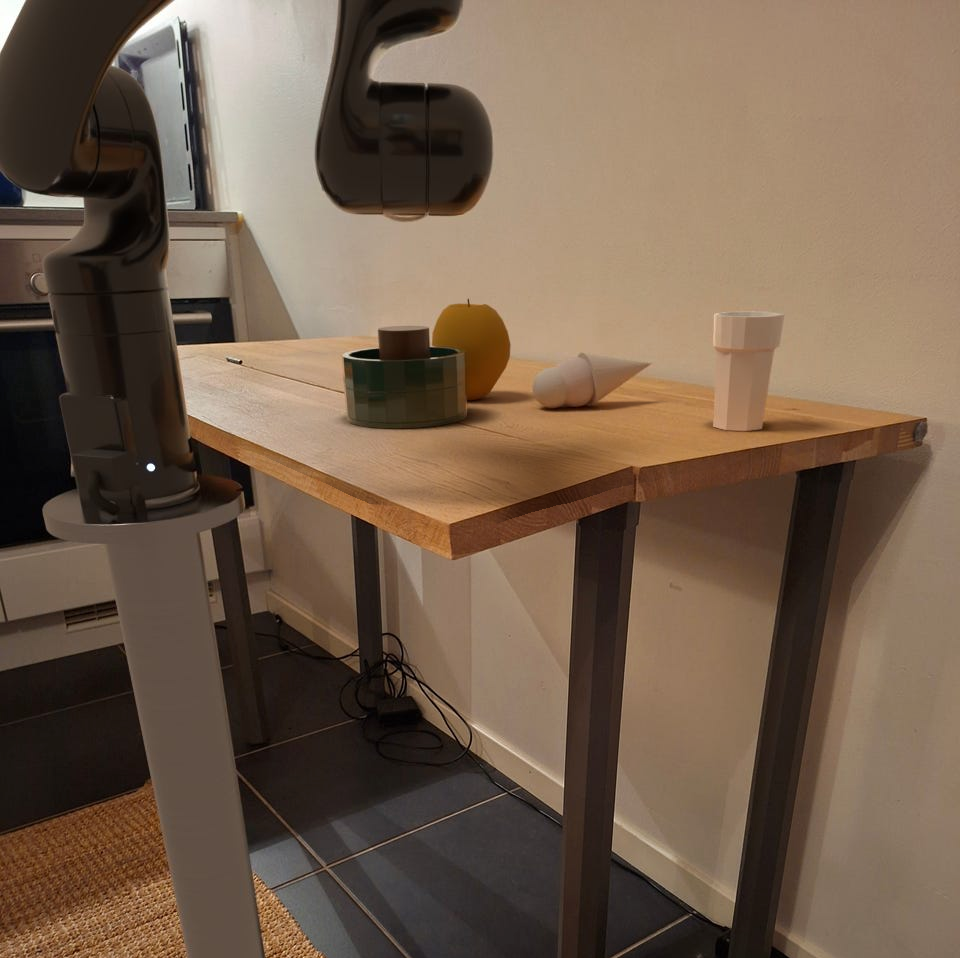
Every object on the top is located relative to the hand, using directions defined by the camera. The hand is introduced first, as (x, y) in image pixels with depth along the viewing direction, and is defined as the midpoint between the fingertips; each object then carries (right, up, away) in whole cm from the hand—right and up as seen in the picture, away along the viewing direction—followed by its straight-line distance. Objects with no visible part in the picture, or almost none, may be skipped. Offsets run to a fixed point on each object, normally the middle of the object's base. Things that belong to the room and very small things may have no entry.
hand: (403, 178), depth 83 cm
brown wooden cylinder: (-1, -17, +19) cm, 25 cm away
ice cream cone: (+20, -15, +24) cm, 35 cm away
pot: (-1, -17, +19) cm, 26 cm away
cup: (+34, -21, +11) cm, 41 cm away
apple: (+6, -12, +30) cm, 33 cm away
